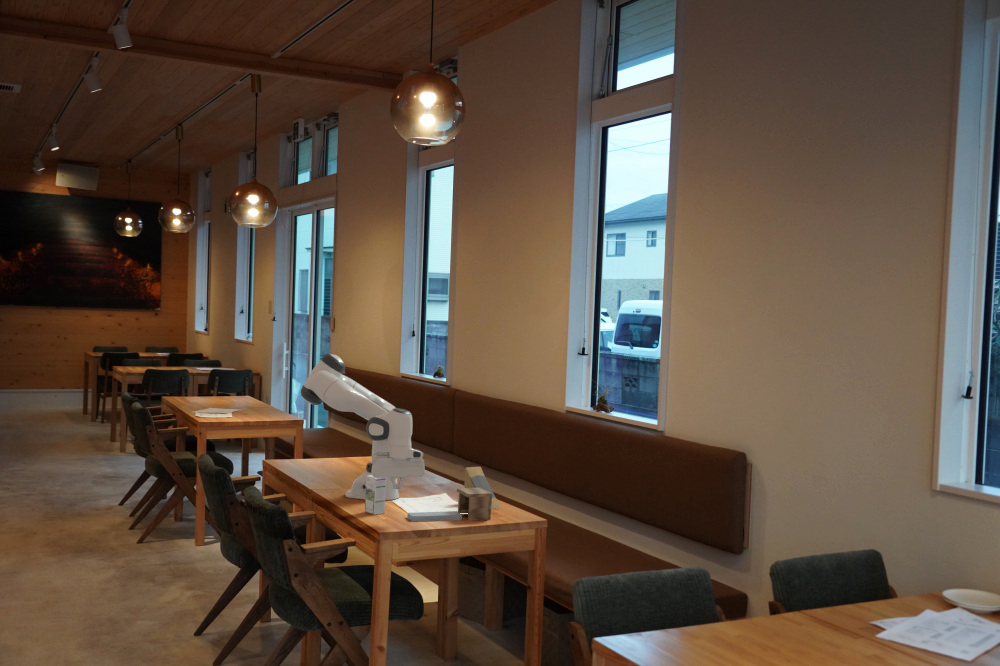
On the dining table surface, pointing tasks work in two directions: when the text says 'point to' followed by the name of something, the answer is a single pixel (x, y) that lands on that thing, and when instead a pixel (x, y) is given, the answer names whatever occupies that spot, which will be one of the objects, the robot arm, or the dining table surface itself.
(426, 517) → the panel
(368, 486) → the syrup box
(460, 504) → the open wooden box
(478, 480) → the sandwich container
